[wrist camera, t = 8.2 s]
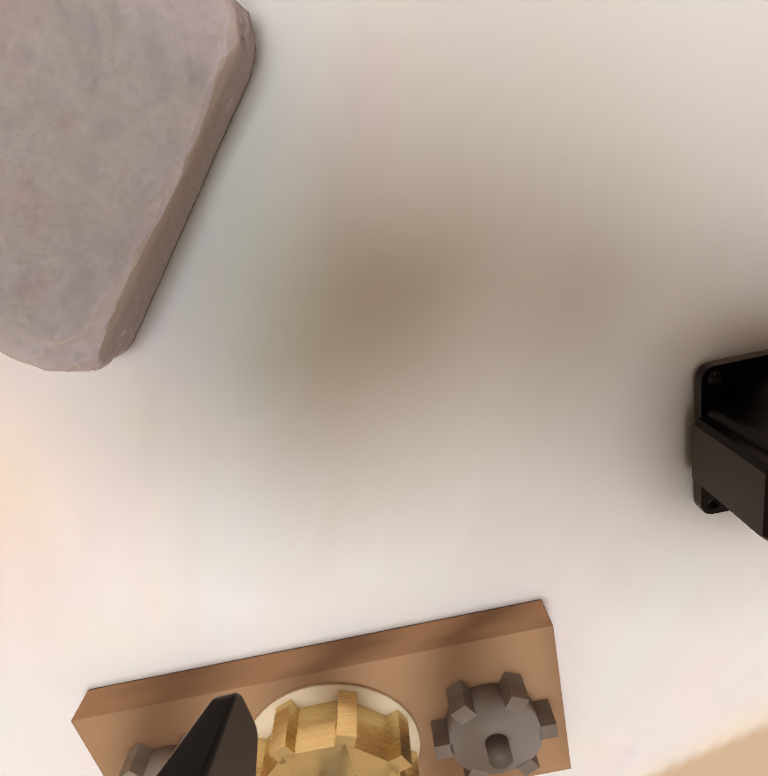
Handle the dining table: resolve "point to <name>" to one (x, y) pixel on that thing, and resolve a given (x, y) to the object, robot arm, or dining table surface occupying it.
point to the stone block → (104, 160)
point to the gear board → (369, 695)
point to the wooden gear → (336, 741)
